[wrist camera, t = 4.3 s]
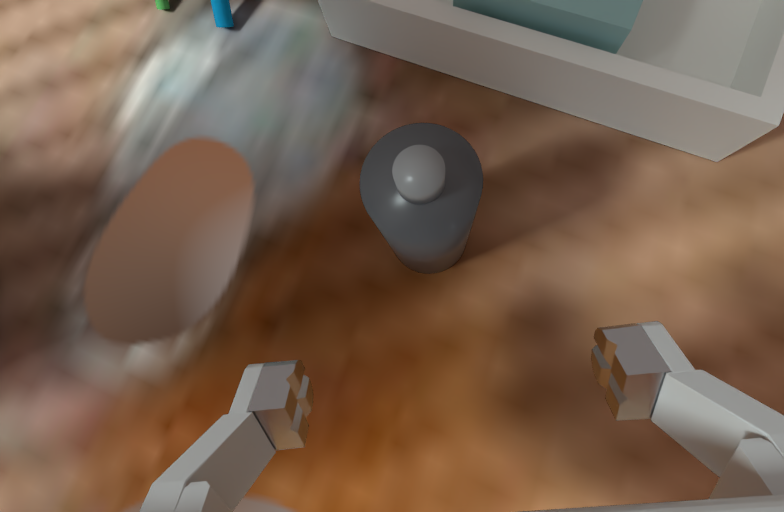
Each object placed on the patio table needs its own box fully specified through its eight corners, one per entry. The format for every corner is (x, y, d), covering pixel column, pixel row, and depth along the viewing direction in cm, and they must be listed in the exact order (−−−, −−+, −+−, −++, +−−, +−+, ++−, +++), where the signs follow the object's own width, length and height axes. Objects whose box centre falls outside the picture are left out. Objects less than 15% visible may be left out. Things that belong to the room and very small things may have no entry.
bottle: (380, 256, 23) (332, 206, 13) (409, 189, 23) (384, 91, 13) (449, 285, 22) (455, 255, 12) (478, 215, 22) (506, 132, 13)
